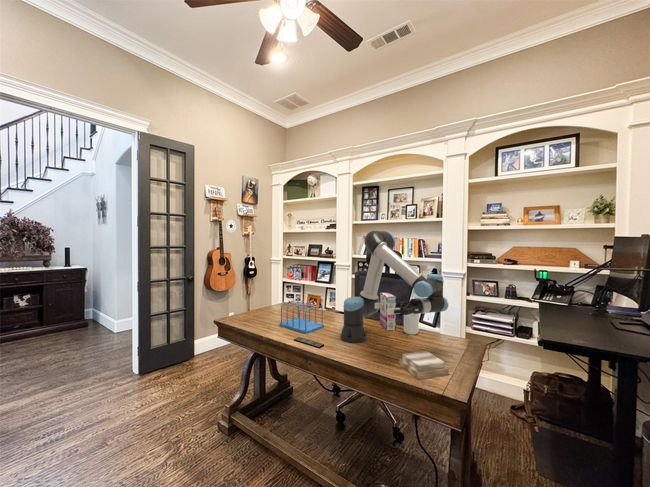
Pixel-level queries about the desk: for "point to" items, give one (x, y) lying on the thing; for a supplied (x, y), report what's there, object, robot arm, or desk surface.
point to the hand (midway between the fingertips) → (380, 308)
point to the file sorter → (301, 320)
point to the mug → (411, 324)
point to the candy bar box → (386, 303)
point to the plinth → (423, 374)
